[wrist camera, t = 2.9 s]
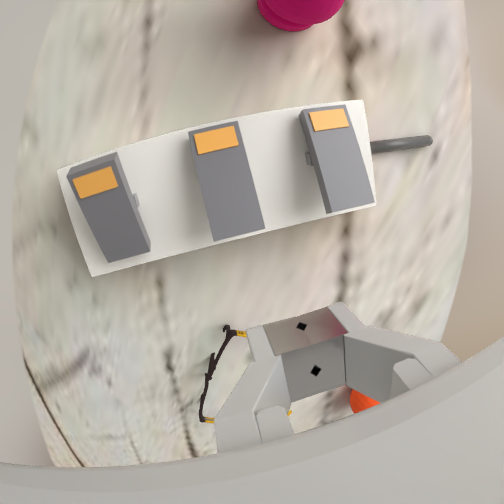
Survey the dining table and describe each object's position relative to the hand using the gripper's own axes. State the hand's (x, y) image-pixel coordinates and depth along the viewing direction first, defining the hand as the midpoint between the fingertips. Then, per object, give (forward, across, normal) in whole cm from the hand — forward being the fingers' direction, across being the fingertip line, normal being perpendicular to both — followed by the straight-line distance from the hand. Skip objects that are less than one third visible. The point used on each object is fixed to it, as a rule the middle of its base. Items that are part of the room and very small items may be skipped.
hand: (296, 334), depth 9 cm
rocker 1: (+16, +9, -3) cm, 19 cm away
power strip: (+23, -5, -3) cm, 23 cm away
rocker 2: (+16, 0, -3) cm, 16 cm away
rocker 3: (+16, -9, -3) cm, 19 cm away
